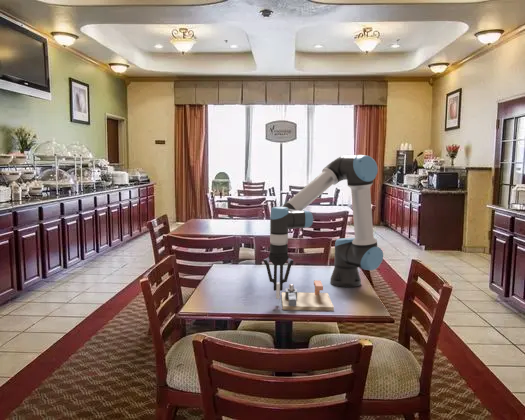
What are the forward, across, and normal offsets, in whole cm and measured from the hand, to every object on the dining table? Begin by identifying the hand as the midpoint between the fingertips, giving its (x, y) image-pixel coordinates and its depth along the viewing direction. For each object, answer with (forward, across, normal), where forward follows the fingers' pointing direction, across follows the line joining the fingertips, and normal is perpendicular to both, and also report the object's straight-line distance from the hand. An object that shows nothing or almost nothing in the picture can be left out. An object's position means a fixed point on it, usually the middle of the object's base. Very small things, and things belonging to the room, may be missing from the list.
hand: (277, 297), depth 198 cm
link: (+1, -6, -1) cm, 6 cm away
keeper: (+1, -18, -7) cm, 19 cm away
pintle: (+1, -6, -6) cm, 9 cm away
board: (+3, -12, -3) cm, 13 cm away
